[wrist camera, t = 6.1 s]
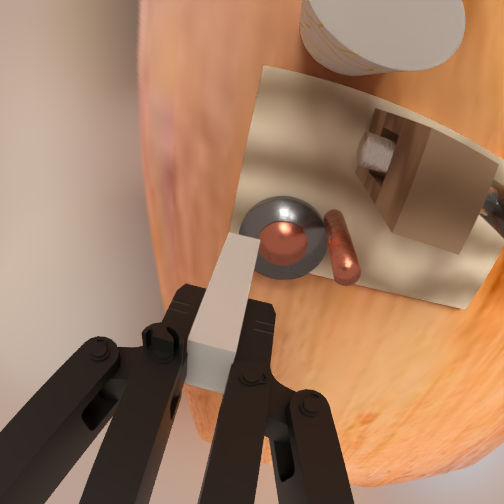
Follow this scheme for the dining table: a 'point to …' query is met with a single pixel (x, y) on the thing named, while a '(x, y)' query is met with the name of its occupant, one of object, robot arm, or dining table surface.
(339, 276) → the handwheel
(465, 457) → the dining table surface
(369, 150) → the t-handle
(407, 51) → the beige solid cylinder
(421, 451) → the dining table surface
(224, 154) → the dining table surface
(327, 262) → the block
